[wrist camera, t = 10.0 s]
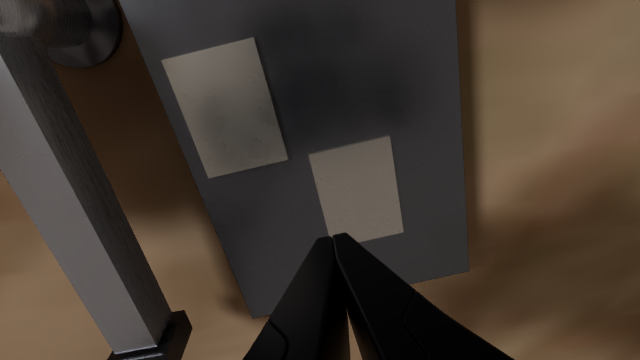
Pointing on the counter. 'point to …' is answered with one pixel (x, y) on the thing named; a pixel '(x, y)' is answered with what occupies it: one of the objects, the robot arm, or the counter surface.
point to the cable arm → (75, 185)
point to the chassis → (315, 128)
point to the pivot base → (94, 38)
